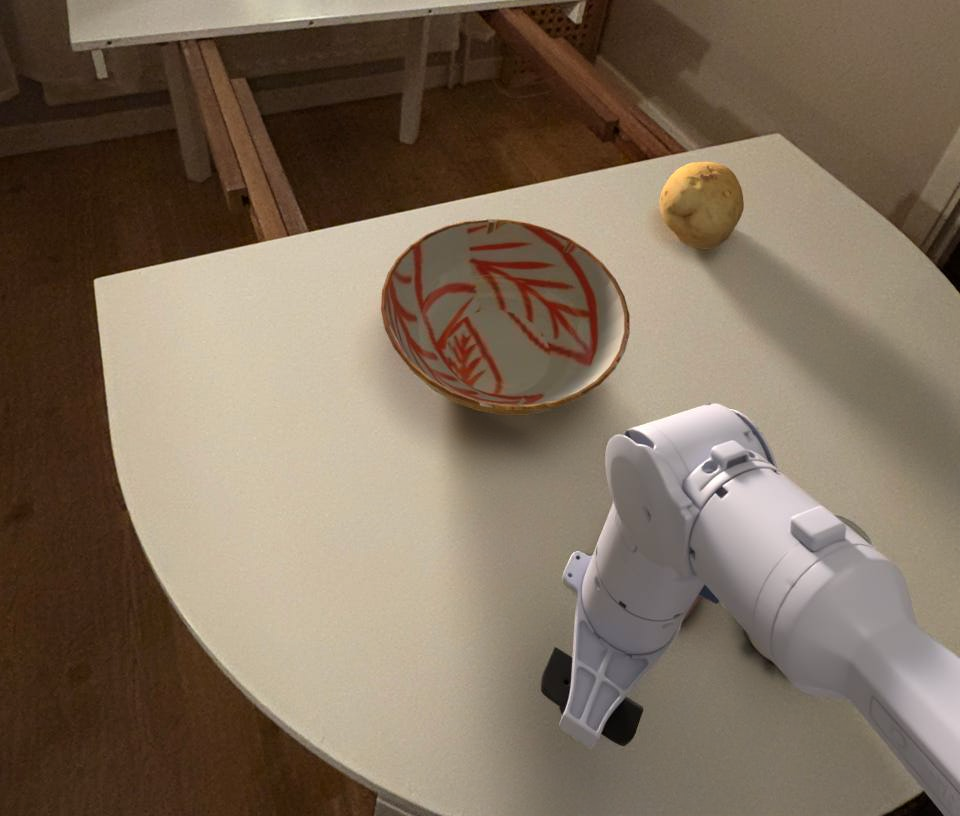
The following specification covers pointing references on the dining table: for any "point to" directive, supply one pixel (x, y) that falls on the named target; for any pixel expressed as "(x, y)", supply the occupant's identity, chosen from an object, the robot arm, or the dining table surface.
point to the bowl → (505, 316)
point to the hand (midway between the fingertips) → (600, 659)
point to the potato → (702, 204)
